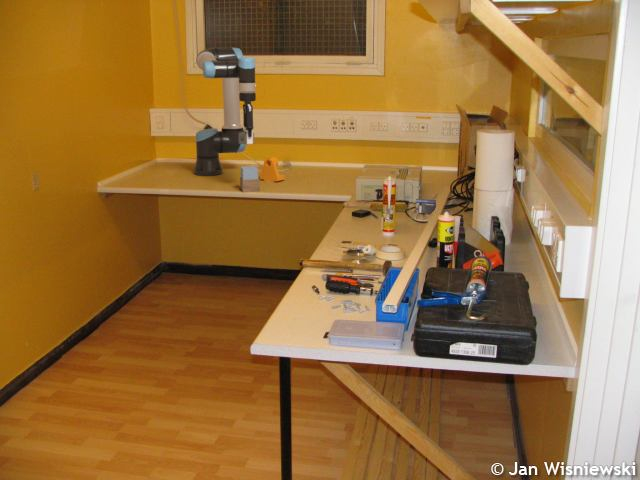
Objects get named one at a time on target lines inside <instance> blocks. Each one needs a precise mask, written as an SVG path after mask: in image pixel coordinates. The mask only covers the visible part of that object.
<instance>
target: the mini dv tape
mask: <svg viewBox="0 0 640 480" xmlns="http://www.w3.org/2000/svg"><path fill="white" fill-rule="evenodd" d="M414 205H415V208H414V214H415V213H419V214H418V215H421V214H420V213H427V214H426V215H430V214H431V213H432V212H433V211H434V210H435V208H436V207H437V199H425V198H416V199H415V204H414ZM436 209H437V208H436Z"/></svg>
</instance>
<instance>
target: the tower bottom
mask: <svg viewBox="0 0 640 480" xmlns="http://www.w3.org/2000/svg"><path fill="white" fill-rule="evenodd" d="M260 180H261V179H260V178H259V177H258V179H251V180H243V179H242V178H241V176H239V185H240V186H239V187H240V191H241V192H242V193H254V192H260V191H261V186H260V185H261V184H260V182H261V181H260Z"/></svg>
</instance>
